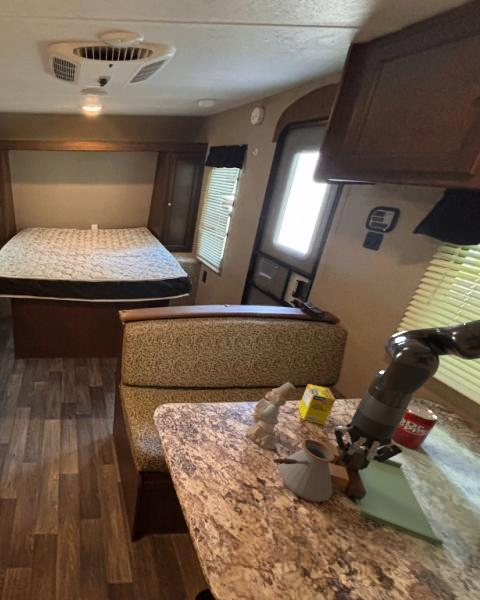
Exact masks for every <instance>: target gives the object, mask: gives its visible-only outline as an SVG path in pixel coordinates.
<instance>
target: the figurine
mask: <svg viewBox="0 0 480 600" xmlns="http://www.w3.org/2000/svg"><path fill="white" fill-rule="evenodd" d="M296 390H297V388H296V387H295V386H294V385H293V384H292V383H291V382H290V381H287V382H285V383H284V384H282V385H280V386H278V387H277V388H272V390H271V391H267V393H266V395H265V398H264V397H263V398H261V399H260V400H259V401H258V402H257V404H256V405H255V406H253V411H254V412H253V413H252V412H251V413H250V416H252V418H251V422H252V423H254V425H250V426H248V427H247V428H246V430H245V432H246V434H247V436H248V437H249V438H250V439H252V440H253V441H254V442H256V443H257V444H258V445H260V446H261V447H263V448H265V449H271V450H275V449H276V448H277V442H276V433H277V429H276V425H278V424H279V418H278V416H279V414H280V407H282V406H285V405H286V403H287V399H288V397H289V396H291V395H292V394H293V393H294V392H295V391H296ZM267 400H268V401H267Z"/></svg>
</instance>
